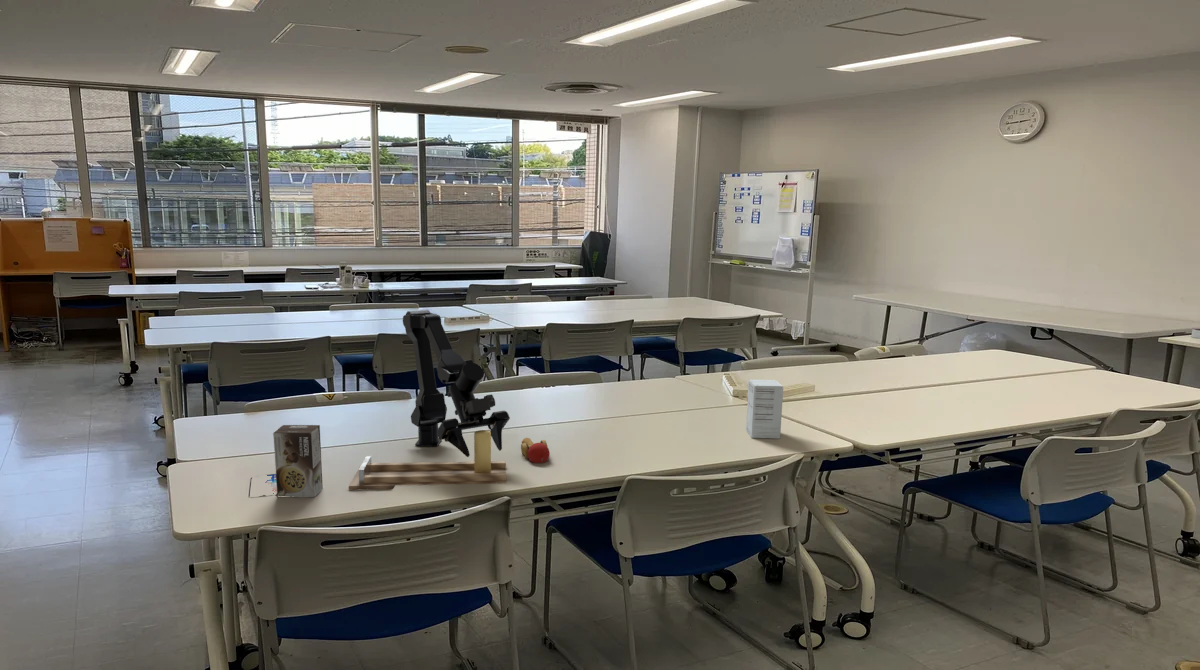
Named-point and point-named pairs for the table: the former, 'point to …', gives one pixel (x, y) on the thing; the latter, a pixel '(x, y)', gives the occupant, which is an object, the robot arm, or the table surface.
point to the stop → (364, 469)
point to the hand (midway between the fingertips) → (484, 453)
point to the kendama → (535, 450)
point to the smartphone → (272, 482)
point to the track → (427, 474)
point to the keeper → (482, 451)
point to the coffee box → (298, 460)
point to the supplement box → (764, 409)
